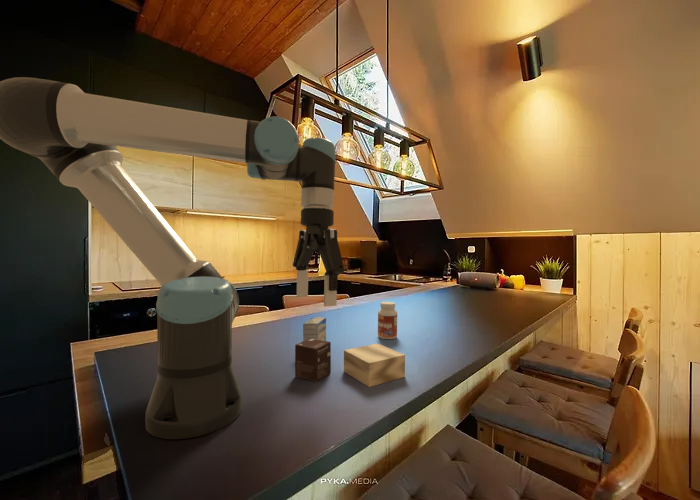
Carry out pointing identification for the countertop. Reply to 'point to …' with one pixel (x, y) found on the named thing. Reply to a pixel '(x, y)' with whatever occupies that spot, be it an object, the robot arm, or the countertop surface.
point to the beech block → (374, 364)
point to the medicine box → (315, 329)
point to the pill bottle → (387, 321)
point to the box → (312, 359)
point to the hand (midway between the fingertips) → (315, 301)
